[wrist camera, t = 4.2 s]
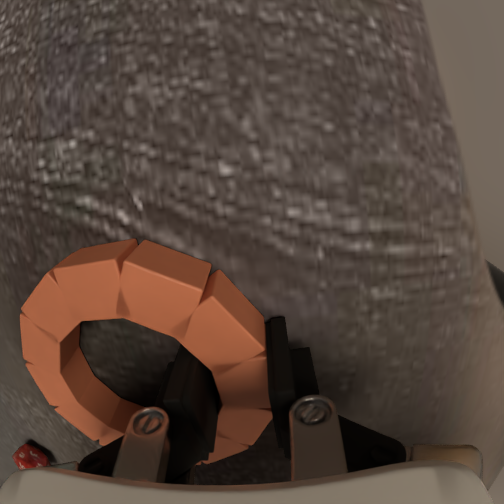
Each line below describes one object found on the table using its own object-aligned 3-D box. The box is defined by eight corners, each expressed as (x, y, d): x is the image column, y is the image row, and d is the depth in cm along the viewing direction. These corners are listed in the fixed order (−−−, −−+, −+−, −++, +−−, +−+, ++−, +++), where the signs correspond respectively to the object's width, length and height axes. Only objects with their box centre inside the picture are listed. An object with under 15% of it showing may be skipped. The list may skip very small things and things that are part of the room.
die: (48, 462, 17) (35, 489, 14) (18, 439, 16) (3, 465, 14) (61, 458, 17) (48, 487, 14) (29, 432, 16) (13, 461, 13)
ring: (251, 218, 10) (249, 238, 8) (285, 428, 14) (287, 460, 12) (13, 261, 11) (-15, 281, 9) (98, 429, 15) (87, 455, 13)
